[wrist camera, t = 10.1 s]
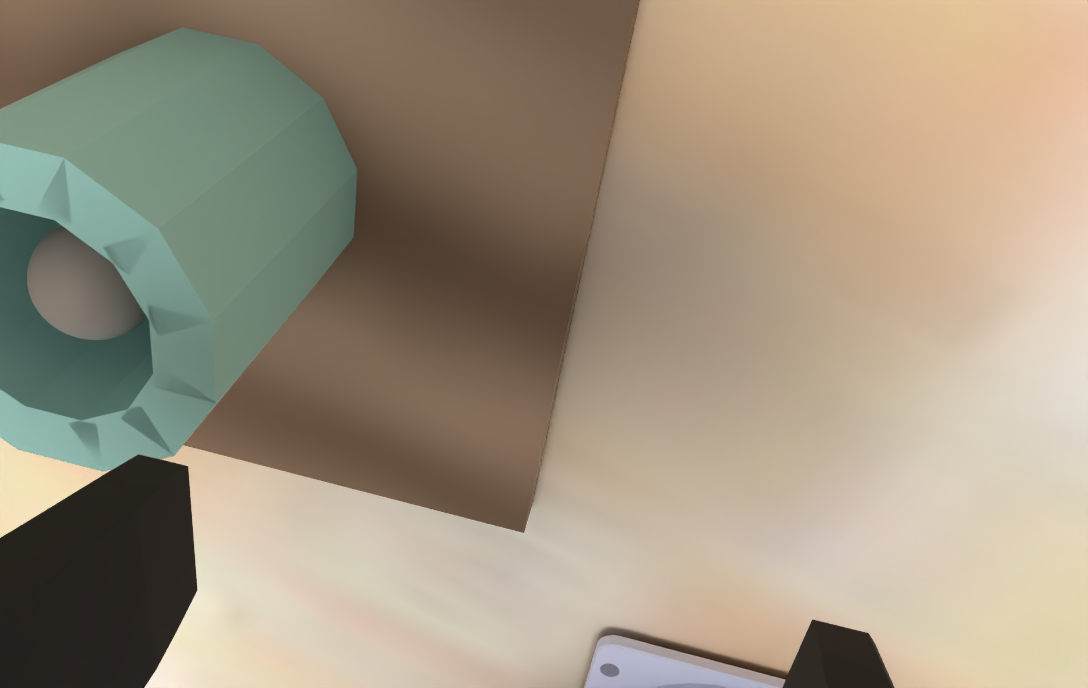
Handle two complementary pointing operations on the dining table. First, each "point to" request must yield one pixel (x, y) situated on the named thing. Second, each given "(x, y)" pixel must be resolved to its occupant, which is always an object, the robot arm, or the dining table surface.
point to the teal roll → (163, 236)
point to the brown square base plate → (390, 231)
